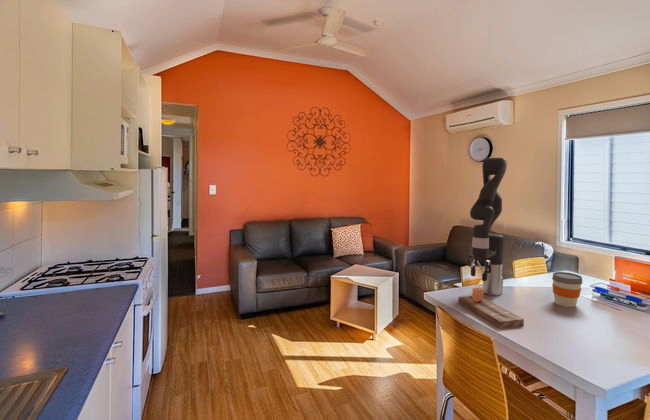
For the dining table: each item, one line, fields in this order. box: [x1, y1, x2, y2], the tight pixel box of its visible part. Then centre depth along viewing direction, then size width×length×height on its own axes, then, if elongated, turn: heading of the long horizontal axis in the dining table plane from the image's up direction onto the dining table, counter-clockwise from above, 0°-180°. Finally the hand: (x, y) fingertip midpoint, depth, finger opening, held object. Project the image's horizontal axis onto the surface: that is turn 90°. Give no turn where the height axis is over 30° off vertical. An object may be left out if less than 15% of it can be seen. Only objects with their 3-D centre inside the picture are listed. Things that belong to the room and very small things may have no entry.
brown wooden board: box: [457, 295, 525, 329], centre depth 161 cm, size 12×30×3 cm, turn 12°
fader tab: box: [471, 287, 485, 302], centre depth 168 cm, size 4×3×6 cm
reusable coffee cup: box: [551, 271, 583, 308], centre depth 172 cm, size 12×13×15 cm
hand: (478, 278), depth 167 cm, fingers open, 8 cm apart
